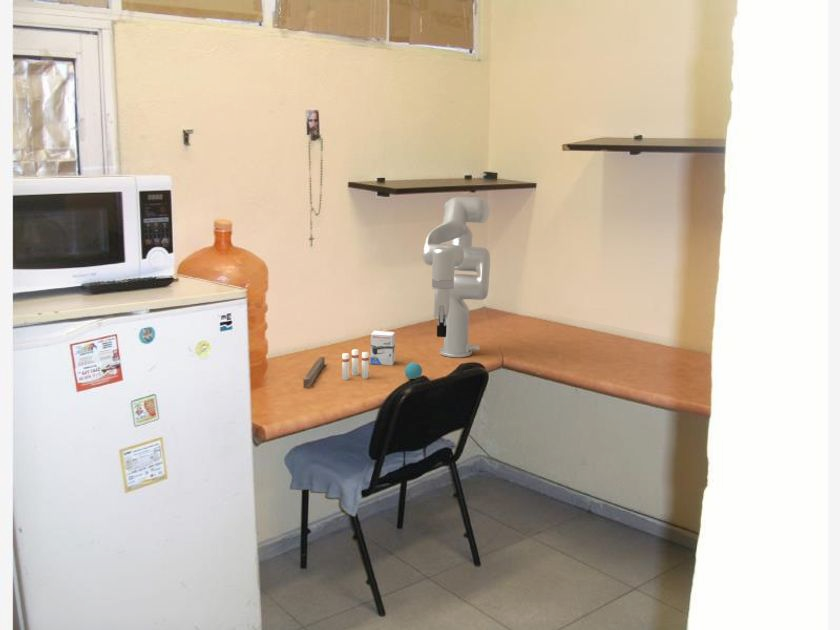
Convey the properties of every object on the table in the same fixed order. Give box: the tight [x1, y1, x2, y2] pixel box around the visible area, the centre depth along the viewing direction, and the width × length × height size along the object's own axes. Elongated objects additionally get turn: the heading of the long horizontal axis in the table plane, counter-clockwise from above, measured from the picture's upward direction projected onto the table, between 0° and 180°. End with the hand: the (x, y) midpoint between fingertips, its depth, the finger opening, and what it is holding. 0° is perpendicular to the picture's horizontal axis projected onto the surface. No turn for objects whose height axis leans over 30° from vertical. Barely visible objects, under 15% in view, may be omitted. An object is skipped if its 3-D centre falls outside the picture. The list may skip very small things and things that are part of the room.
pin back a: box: [351, 348, 360, 377], centre depth 284 cm, size 2×2×9 cm
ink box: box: [370, 330, 396, 366], centre depth 298 cm, size 8×5×12 cm, turn 82°
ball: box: [404, 362, 423, 380], centre depth 280 cm, size 6×6×6 cm
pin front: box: [361, 351, 370, 379], centre depth 280 cm, size 2×2×9 cm
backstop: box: [302, 356, 326, 389], centre depth 282 cm, size 2×28×3 cm, turn 176°
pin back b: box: [341, 352, 350, 381], centre depth 278 cm, size 2×2×9 cm
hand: (441, 336), depth 276 cm, fingers closed
